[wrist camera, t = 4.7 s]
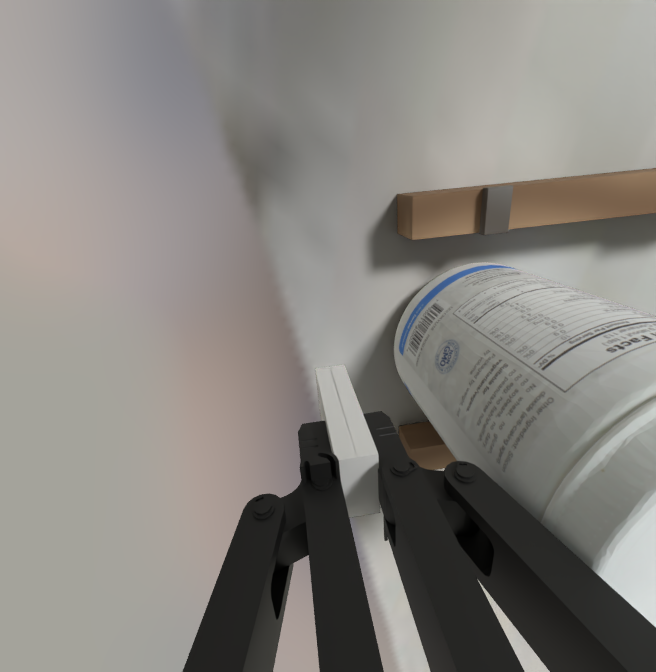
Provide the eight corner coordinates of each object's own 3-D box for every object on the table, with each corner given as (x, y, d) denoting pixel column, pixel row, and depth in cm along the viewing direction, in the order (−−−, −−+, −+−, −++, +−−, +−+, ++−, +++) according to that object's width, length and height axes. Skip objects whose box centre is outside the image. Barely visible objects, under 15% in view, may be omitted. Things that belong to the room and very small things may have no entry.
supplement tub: (535, 371, 25) (851, 596, 12) (405, 418, 24) (577, 705, 11) (528, 233, 21) (1013, 336, 7) (371, 287, 20) (583, 498, 7)
